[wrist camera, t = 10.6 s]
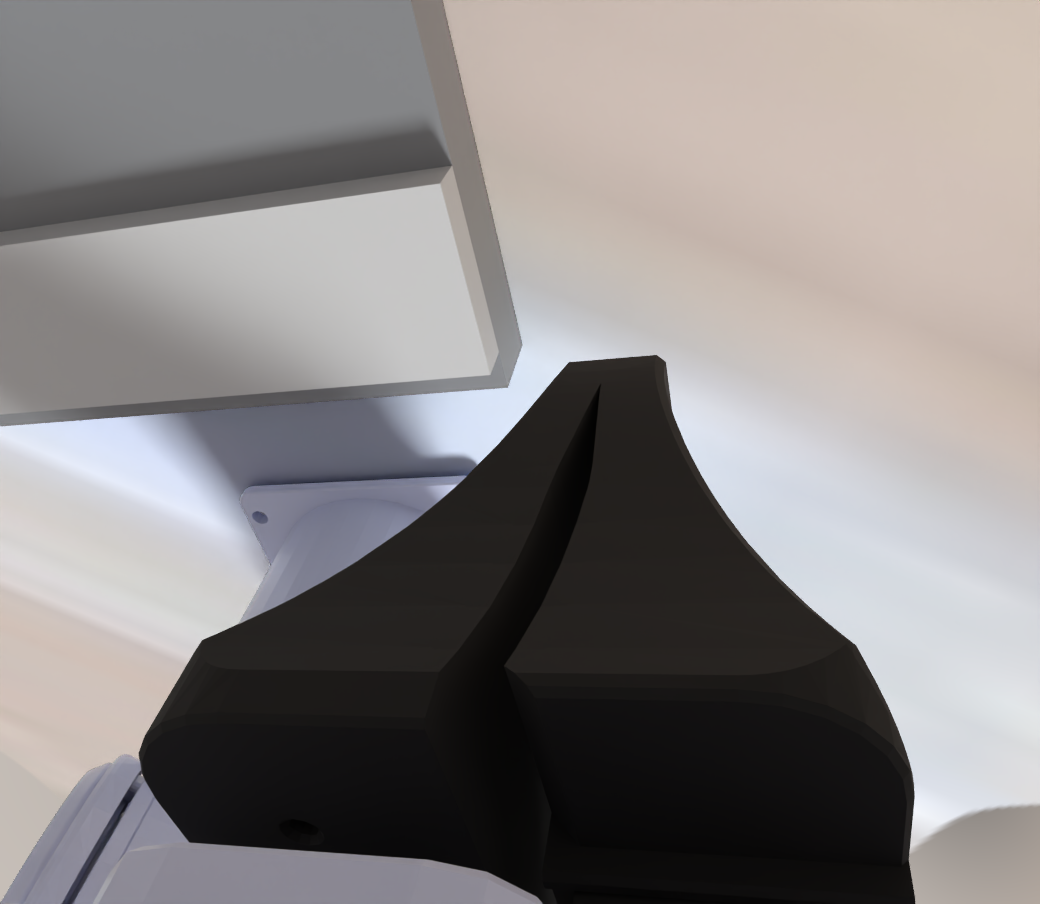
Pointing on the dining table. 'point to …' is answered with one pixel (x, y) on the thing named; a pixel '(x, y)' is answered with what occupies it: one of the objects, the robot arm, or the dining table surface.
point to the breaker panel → (239, 209)
